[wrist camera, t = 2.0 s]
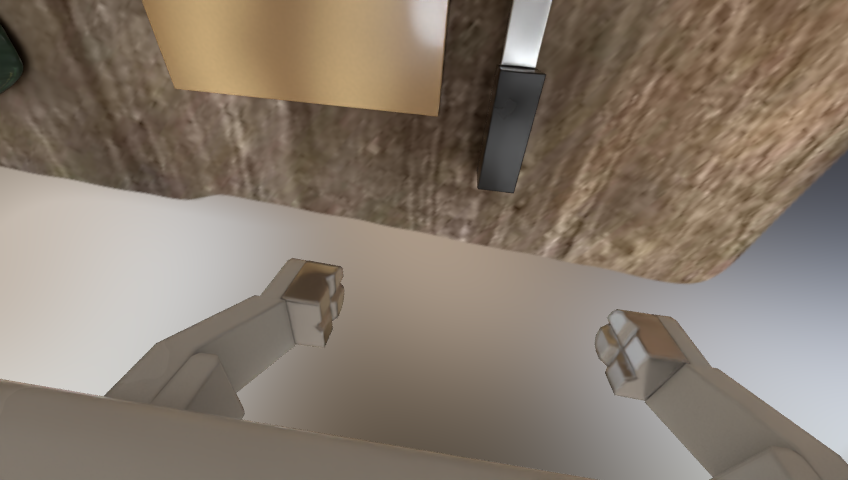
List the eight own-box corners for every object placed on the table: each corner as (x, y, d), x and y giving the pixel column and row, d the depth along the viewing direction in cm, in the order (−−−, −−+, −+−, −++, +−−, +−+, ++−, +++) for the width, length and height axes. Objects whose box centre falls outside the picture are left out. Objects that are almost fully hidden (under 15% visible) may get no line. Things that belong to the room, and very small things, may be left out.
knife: (549, -223, 13) (567, -284, 11) (609, -221, 13) (643, -283, 10) (476, 172, 24) (477, 189, 21) (509, 175, 24) (513, 193, 21)
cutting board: (457, -83, 16) (457, -88, 15) (439, 114, 22) (438, 116, 21) (113, -104, 17) (99, -110, 17) (182, 87, 23) (174, 88, 22)
